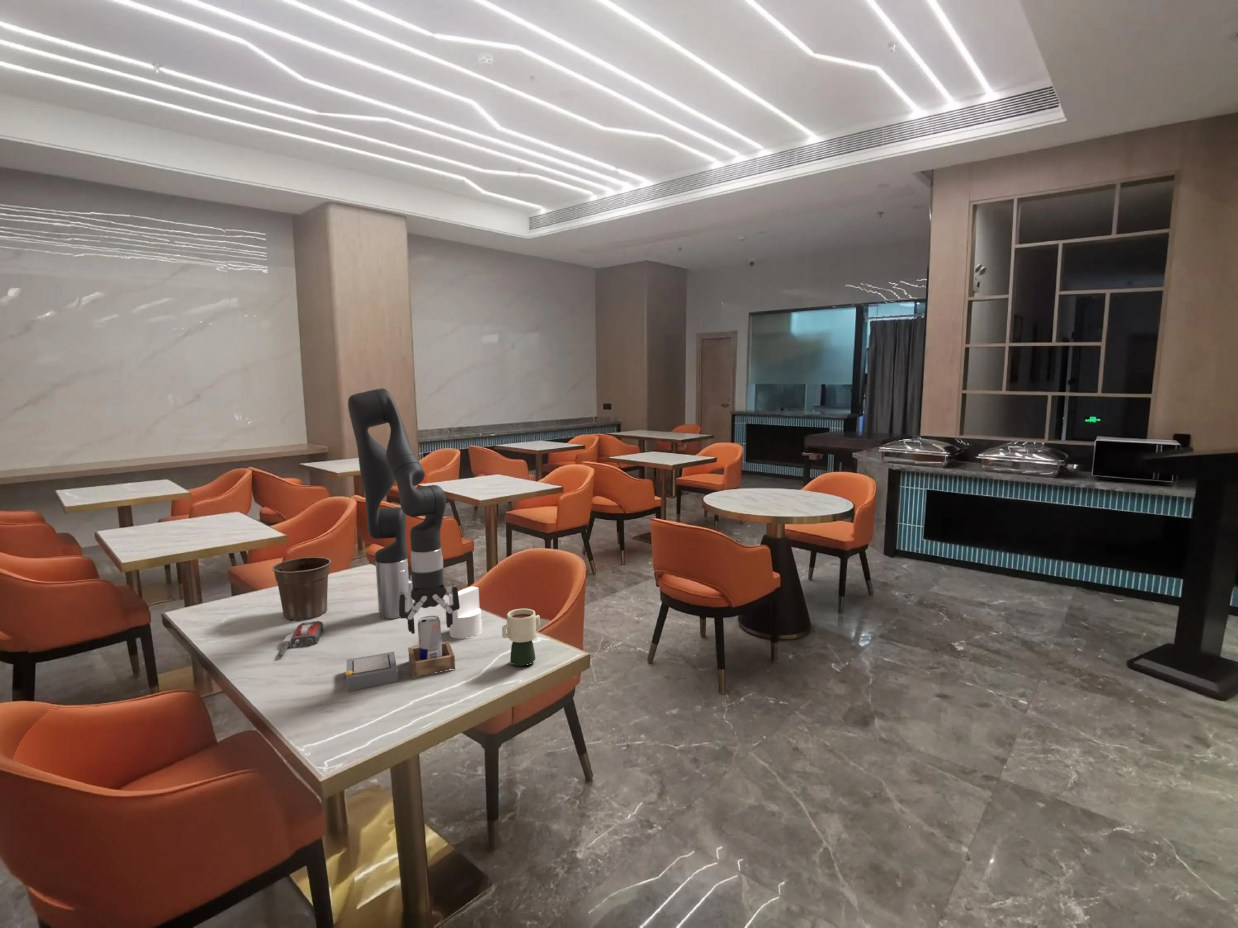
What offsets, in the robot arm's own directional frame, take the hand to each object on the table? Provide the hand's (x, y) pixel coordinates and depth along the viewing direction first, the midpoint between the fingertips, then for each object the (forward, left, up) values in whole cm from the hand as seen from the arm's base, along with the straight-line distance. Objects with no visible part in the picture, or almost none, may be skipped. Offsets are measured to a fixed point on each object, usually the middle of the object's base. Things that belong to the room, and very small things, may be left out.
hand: (430, 629), depth 154 cm
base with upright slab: (-19, -10, -10) cm, 23 cm away
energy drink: (0, 0, -9) cm, 9 cm away
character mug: (-14, +18, -9) cm, 25 cm away
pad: (+12, -7, -7) cm, 16 cm away
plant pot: (0, -63, -10) cm, 64 cm away
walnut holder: (0, 0, -9) cm, 9 cm away
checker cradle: (+12, -7, -9) cm, 17 cm away
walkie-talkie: (+12, -42, -10) cm, 44 cm away
